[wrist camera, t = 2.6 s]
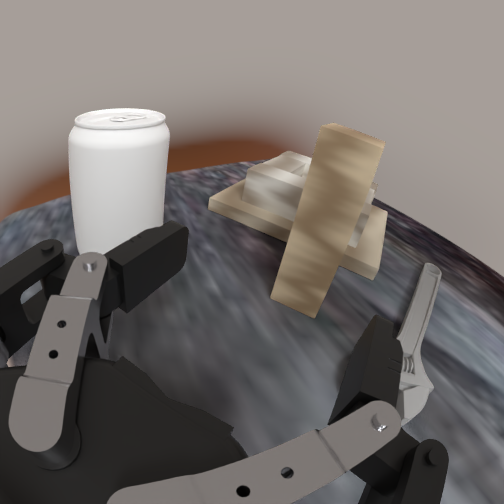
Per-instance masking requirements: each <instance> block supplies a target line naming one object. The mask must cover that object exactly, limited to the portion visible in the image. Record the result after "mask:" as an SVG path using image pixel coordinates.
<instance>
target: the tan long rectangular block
mask: <svg viewBox="0 0 504 504" xmlns="http://www.w3.org/2000/svg"><path fill="white" fill-rule="evenodd" d="M384 146H385V142H384V141H382V140H379V139H377V138H374V137H372V136H369V135H366V134H364V133H361V132H358V131H356V130H353V129H350V128H347V127H344V126H342V125H339V124H336V123H331V124H326V125H323V126H321V128H320V131H319V135H318V139H317V142H316V146H315V149H314V153H313V157H312V160H311V164H310V167H309V171H308V174H307V178H306V181H305V185H304V188H303V192H302V195H301V199H300V202H299V205H298V209H297V212H296V216H295V219H294V222H293V226H292V229H291V232H290V235H289V239H288V242H287V245H286V249H285V252H284V255H283V258H282V262H281V265H280V268H279V271H278V274H277V278H276V281H275V284H274V287H273V290H272V293H271V296H270V298H271V299H273V300H275V301H277V302H279V303H281V304H284V305H286V306H288V307H290V308H292V309H294V310H296V311H299V312H301V313H303V314H305V315H307V316H309V317H312V318H314V319H315V317H316V315H317V313H318V310H319V308H320V306H321V304H322V302H323V300H324V298H325V295H326V293H327V291H328V289H329V287H330V285H331V282H332V280H333V278H334V276H335V273H336V271H337V269H338V266H339V264H340V262H341V260H342V257H343V255H344V252H345V250H346V248H347V245H348V243H349V241H350V238H351V236H352V233H353V231H354V228H355V226H356V223H357V221H358V218H359V216H360V213H361V210H362V208H363V205H364V203H365V200H366V197H367V195H368V192H369V189H370V187H371V184H372V181H373V178H374V176H375V173H376V170H377V167H378V164H379V161H380V158H381V155H382V152H383V149H384Z"/></svg>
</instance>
